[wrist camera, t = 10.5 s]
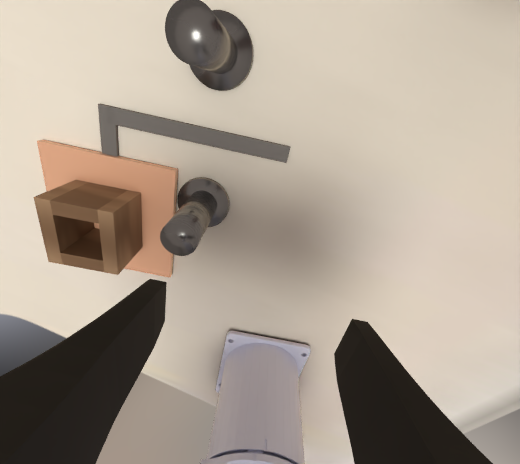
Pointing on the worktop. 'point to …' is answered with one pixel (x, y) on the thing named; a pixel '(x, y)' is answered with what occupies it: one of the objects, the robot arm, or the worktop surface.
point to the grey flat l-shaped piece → (181, 134)
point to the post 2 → (194, 215)
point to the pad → (124, 177)
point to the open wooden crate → (91, 225)
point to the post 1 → (210, 43)
